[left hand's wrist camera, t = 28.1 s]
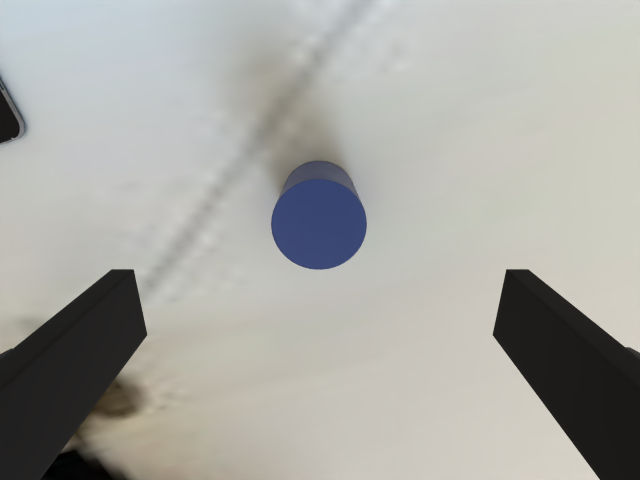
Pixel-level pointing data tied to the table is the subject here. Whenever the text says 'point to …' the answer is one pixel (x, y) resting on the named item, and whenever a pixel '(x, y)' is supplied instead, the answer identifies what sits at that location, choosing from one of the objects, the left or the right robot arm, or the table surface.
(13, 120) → the smartphone
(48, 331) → the left robot arm
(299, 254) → the can
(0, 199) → the table surface
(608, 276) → the table surface
